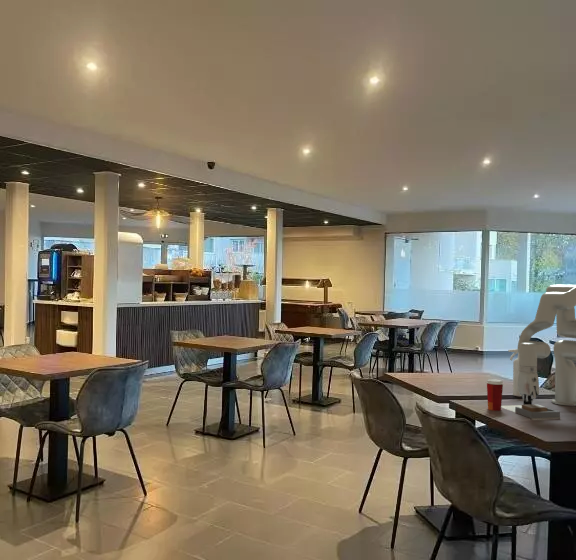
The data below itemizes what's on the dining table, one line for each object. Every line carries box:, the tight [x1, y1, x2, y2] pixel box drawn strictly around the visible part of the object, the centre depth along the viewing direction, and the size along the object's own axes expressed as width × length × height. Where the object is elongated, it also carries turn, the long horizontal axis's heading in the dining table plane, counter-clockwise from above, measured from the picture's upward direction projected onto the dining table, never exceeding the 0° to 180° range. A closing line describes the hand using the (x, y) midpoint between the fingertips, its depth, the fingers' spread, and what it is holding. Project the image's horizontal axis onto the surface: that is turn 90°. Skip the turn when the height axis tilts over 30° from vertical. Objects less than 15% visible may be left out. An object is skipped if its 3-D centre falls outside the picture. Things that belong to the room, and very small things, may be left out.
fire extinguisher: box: [508, 348, 522, 397], centre depth 314 cm, size 7×12×25 cm, turn 79°
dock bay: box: [501, 404, 561, 420], centre depth 269 cm, size 14×27×3 cm, turn 12°
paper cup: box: [485, 378, 504, 412], centre depth 272 cm, size 8×8×14 cm
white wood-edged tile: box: [521, 403, 548, 412], centre depth 263 cm, size 8×7×4 cm
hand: (527, 409), depth 268 cm, fingers closed
